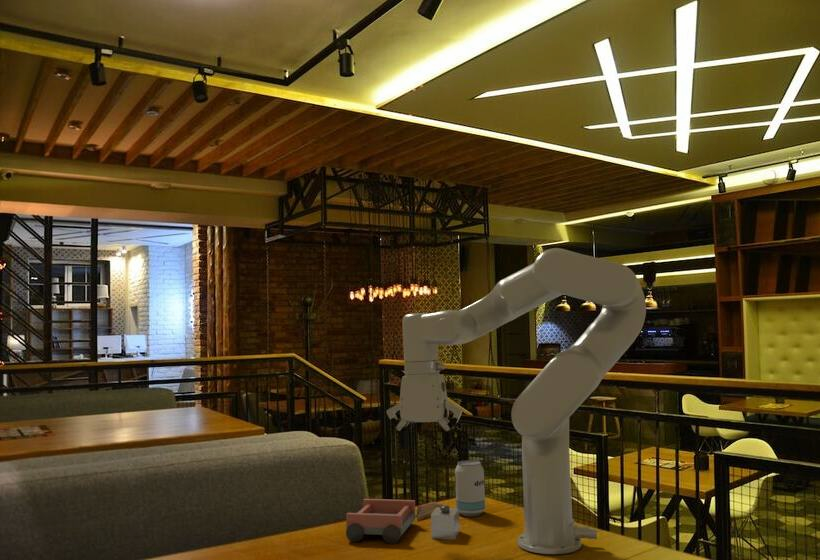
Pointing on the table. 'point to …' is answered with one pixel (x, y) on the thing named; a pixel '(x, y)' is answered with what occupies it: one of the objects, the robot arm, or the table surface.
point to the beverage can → (470, 488)
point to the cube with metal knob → (444, 523)
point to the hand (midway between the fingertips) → (425, 448)
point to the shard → (426, 510)
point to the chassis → (381, 519)
